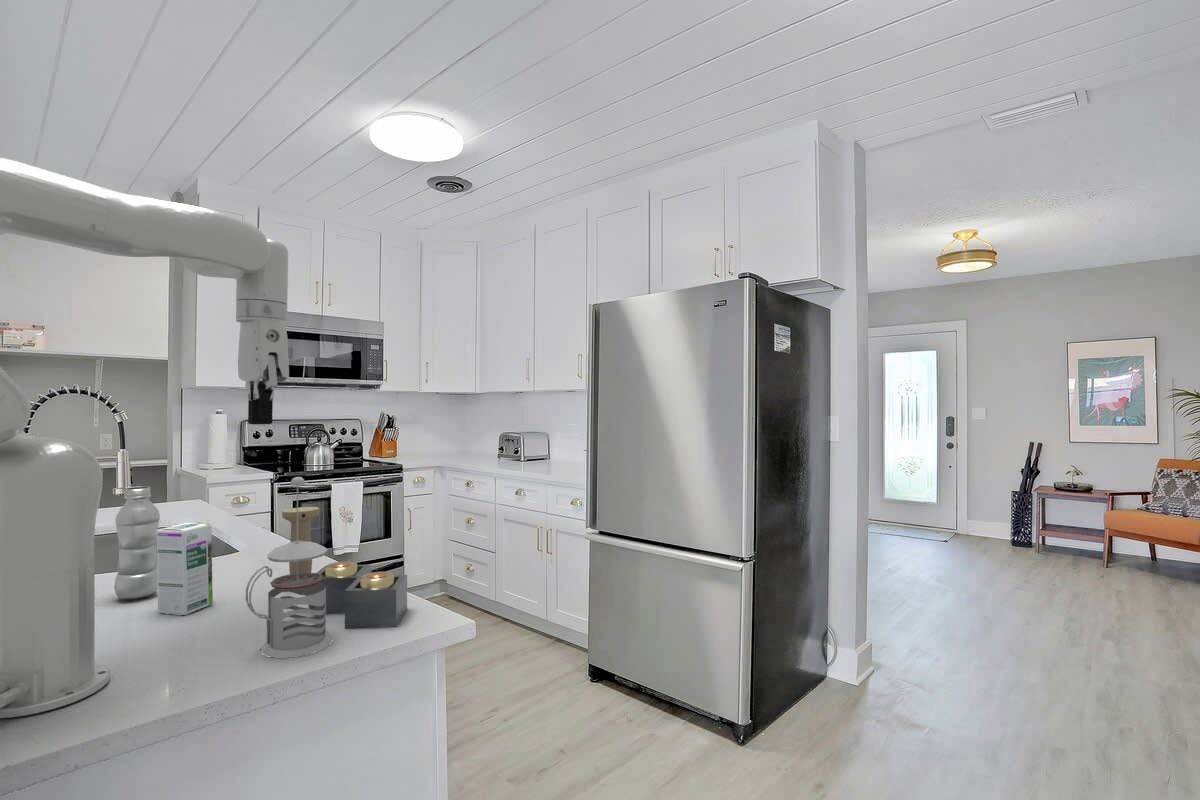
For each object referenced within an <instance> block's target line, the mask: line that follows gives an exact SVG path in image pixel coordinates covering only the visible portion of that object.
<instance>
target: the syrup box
mask: <svg viewBox="0 0 1200 800" xmlns="http://www.w3.org/2000/svg"><path fill="white" fill-rule="evenodd" d="M212 533H213V532H212V524H211V523H207V522H197V521H196V522H194V521H193V522H183V523H181V524H177V525H173V526H168V527H164V528H158V530H157V531H156V535H157V539H156V560H157V590H156V592H157V612H158V613H159V614H162V613H167V614H166V615H169V614H177V615H176V616H181V615H186V616H188V615H189V614H192V613H193V612H197V611H199V610H201V608H202V609H204V608H207V607H210V606H212V605H213V603H214V602H213V601H214V599H213V598H214V597H213V549H212V548H213V547H212V545H213V539H212V538H213V537H212V536H213V535H212ZM196 610H197V611H196ZM187 614H188V615H187Z"/></svg>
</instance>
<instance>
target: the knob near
mask: <svg viewBox="0 0 1200 800" xmlns="http://www.w3.org/2000/svg"><path fill="white" fill-rule="evenodd" d="M394 575H395V574H394V573H393V572H390V571H375V572H373V571H371V573H368V574H365V575H363V576H361V588H392V586H393V585H394Z"/></svg>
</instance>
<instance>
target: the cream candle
mask: <svg viewBox="0 0 1200 800" xmlns="http://www.w3.org/2000/svg"><path fill="white" fill-rule="evenodd" d="M357 565H358V563H357V562H355V561H345V560H344V561H336V562H331V563H329V564H326V565H324V566H325V577H329V576H354V575H355V574H356V573H357Z"/></svg>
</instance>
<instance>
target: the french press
mask: <svg viewBox="0 0 1200 800" xmlns="http://www.w3.org/2000/svg"><path fill="white" fill-rule="evenodd" d="M290 485H291V486H296V508H297V541H294V542H290V541H289V542H287V543H285V544H283V545H279V546H277V547H275V548H273V549H272V550H271V551H269V553H267V555H266V556H267V559H268V560H269V561H271V562H274V563H289V562H297V574H293V575H291V574H290V573H288V574H283V575H281V576H279V577H276V578H273V579H272V581H271V582H270V585H271V587H272V589H270V591H268V592H267V614H263V613H258V612H257V611H256V610H255V608H254V606H253V604H252V591H253V589H254V586H255V584H256V581H257V580H258V579H259V578H260V576H262V575H263V574H264V573H266V575H267V576H268V577H269V578H272V577H273V569H272V568H269V566H267V565H264V566H262V567H261V568H259V569H258V570H256V571H255V572H254V573H253V574H252V576H250V579H249V580H248V582H247V585H246V588H245V602H246V604H247V607H248V609H249V610H250V612H251V613H253V614H254V615H255V616H257V617H258V618H259V619H263V620H266V642H265V643H264V644H263V645H262V647H261V648H260V649H261V651H260V654H261V653H263V654H265V655H267V656H270V657H274V658H273V659H279V658H282V659H293V657H295V658H300V657H303V656H302V655H305V656H307V655H306V654H310V655H312V654H314V653H313V652H315V651H318V652H320V651H319V650H321V651H323V650H324V649H326V648H328V647H329V646H331V645H330V643H331V642H332V643H333V641H334V638H333V636H332V635H331V634H330V633H329V632H327V631H326V630H327V623H326V622H327V613H326V586H325V585H324V584H322V583H320V582H321V581H322V580H323V579H324V577H323V575H321V574H318V573H317V572H312V571H311V572H310V573H301V574H300V573H299V574H298V561H305V560H310V559H312V560H313V559H318V558H322V557H324V555H326V554H327V552H328V549H327V547H325V546H323V545H321V544H320V543H317V542H313V541H311V542H307V541H300V540H298V508H299V486H304V485H305V479H304V478H303V477H302V476H296V477H293V478H292V479H291V480H290ZM264 568H265V569H264ZM262 570H263V571H262ZM260 571H261V572H260ZM259 572H260V573H259ZM257 574H258V575H257ZM256 575H257V576H256ZM255 576H256V577H255ZM254 577H255V579H254V580H253V578H254ZM252 581H253V582H252ZM251 582H252V584H251ZM250 584H251V588H250ZM249 588H250V589H249ZM281 593H292V594H296V595H300V596H299V597H296V596H295V597H294V596H291V595H285V596H284V595H283V596H280V597H277V596H278V595H280V594H281ZM299 605H304V606H306V605H308V606H309V605H313V606H316V608H312V609H309V607H308V608H307V607H306V608H305V607H301V606H299ZM288 609H289V611H287V612H284V610H288ZM300 614H301V615H300ZM304 614H305V615H304ZM306 615H314V616H306ZM286 618H291V619H290V620H284V619H286ZM305 623H307V624H305ZM308 623H309V624H308ZM332 640H333V641H332ZM332 643H331V644H332ZM328 645H329V646H328ZM327 646H328V647H327ZM325 647H326V648H325ZM322 649H323V650H322ZM311 653H312V654H311ZM315 653H316V652H315ZM299 656H300V657H299ZM288 657H290V658H288ZM291 657H292V658H291Z"/></svg>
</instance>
